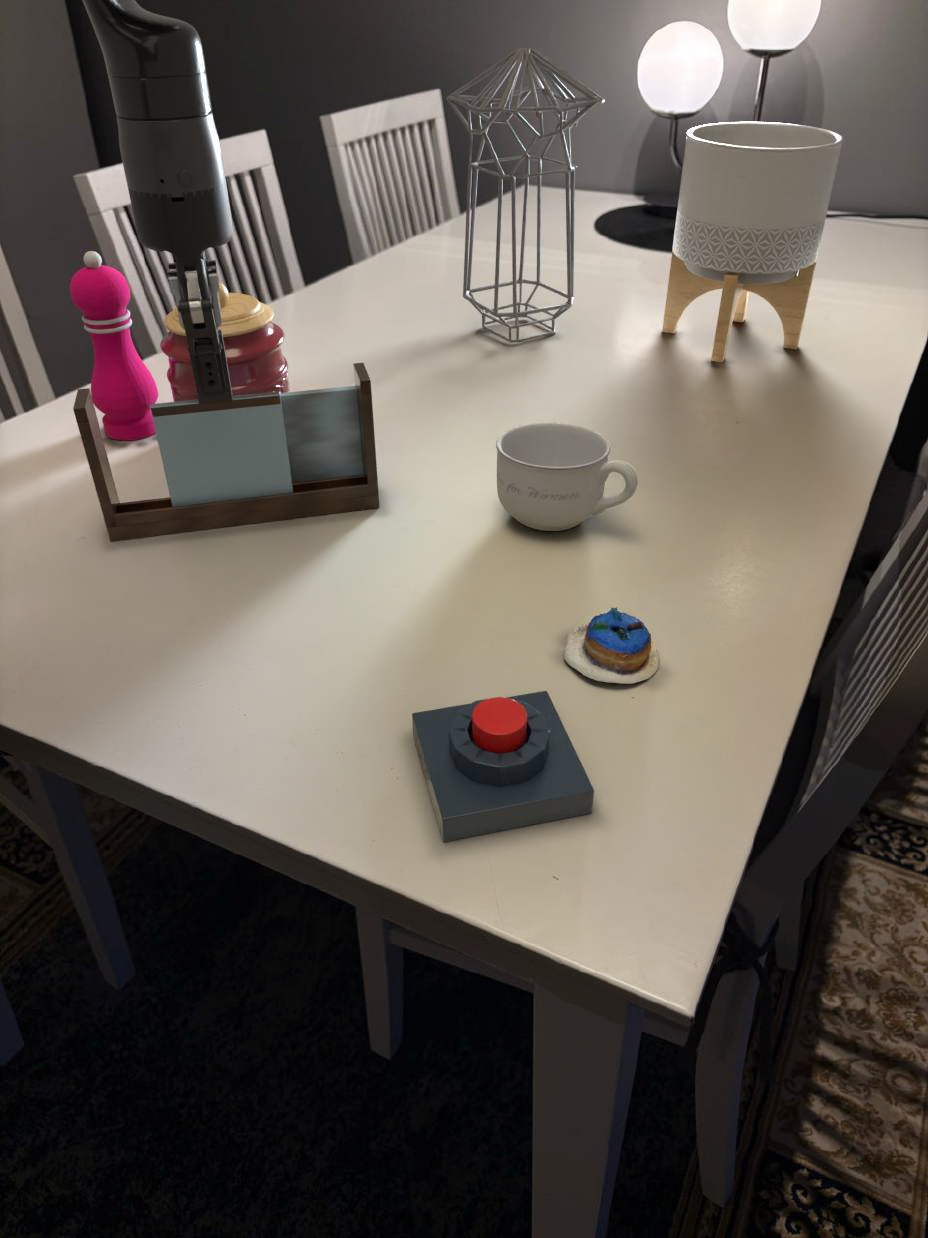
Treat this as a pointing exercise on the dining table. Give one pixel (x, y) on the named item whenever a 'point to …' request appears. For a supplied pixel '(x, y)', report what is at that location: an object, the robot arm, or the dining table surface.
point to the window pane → (222, 444)
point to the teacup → (557, 475)
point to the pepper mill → (114, 351)
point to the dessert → (613, 649)
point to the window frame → (318, 456)
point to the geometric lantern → (532, 65)
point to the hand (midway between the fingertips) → (213, 388)
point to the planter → (750, 221)
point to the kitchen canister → (232, 349)
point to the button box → (500, 771)
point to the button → (499, 725)
